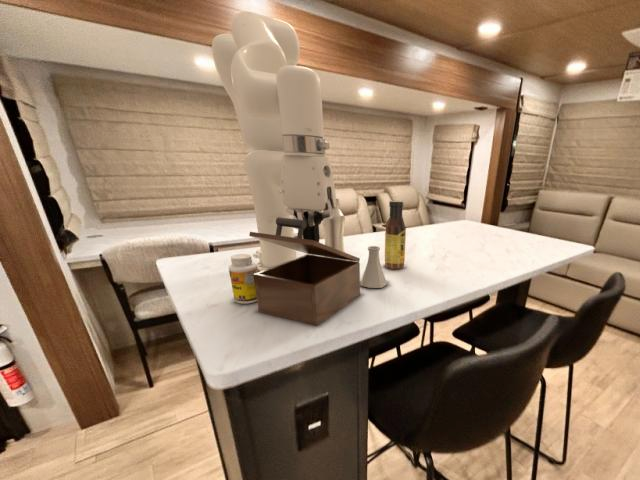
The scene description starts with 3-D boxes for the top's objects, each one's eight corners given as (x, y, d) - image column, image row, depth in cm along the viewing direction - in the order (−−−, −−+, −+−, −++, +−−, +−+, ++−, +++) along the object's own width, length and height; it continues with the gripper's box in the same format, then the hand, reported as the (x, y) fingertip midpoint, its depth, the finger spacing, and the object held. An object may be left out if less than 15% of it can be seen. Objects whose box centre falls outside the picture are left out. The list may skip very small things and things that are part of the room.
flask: (383, 290, 79) (384, 252, 75) (356, 287, 80) (355, 249, 76) (389, 281, 85) (390, 245, 81) (364, 278, 86) (364, 243, 82)
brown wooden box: (317, 325, 60) (314, 286, 57) (258, 311, 65) (252, 274, 62) (360, 294, 75) (359, 262, 72) (310, 285, 80) (307, 254, 77)
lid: (312, 245, 54) (317, 219, 54) (248, 235, 59) (253, 211, 59) (359, 262, 72) (362, 242, 72) (307, 253, 77) (310, 235, 76)
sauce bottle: (404, 270, 94) (407, 202, 87) (383, 269, 94) (385, 201, 86) (404, 264, 100) (407, 200, 93) (385, 263, 100) (386, 199, 93)
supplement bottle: (230, 299, 70) (221, 255, 66) (254, 293, 74) (247, 251, 70) (241, 306, 67) (233, 261, 63) (266, 299, 71) (259, 256, 66)
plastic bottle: (322, 265, 96) (317, 197, 88) (343, 263, 99) (341, 197, 91) (326, 271, 91) (322, 200, 83) (348, 269, 93) (346, 200, 85)
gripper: (348, 150, 59) (351, 244, 66) (285, 149, 64) (294, 237, 71) (326, 147, 53) (332, 252, 60) (258, 146, 57) (271, 243, 65)
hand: (311, 243), depth 66 cm, fingers closed
